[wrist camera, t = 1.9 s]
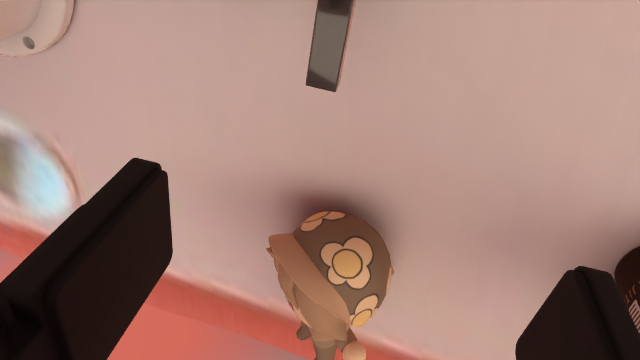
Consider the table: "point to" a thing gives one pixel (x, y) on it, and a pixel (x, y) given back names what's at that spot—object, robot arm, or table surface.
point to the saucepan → (329, 43)
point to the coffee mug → (630, 283)
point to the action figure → (332, 279)
